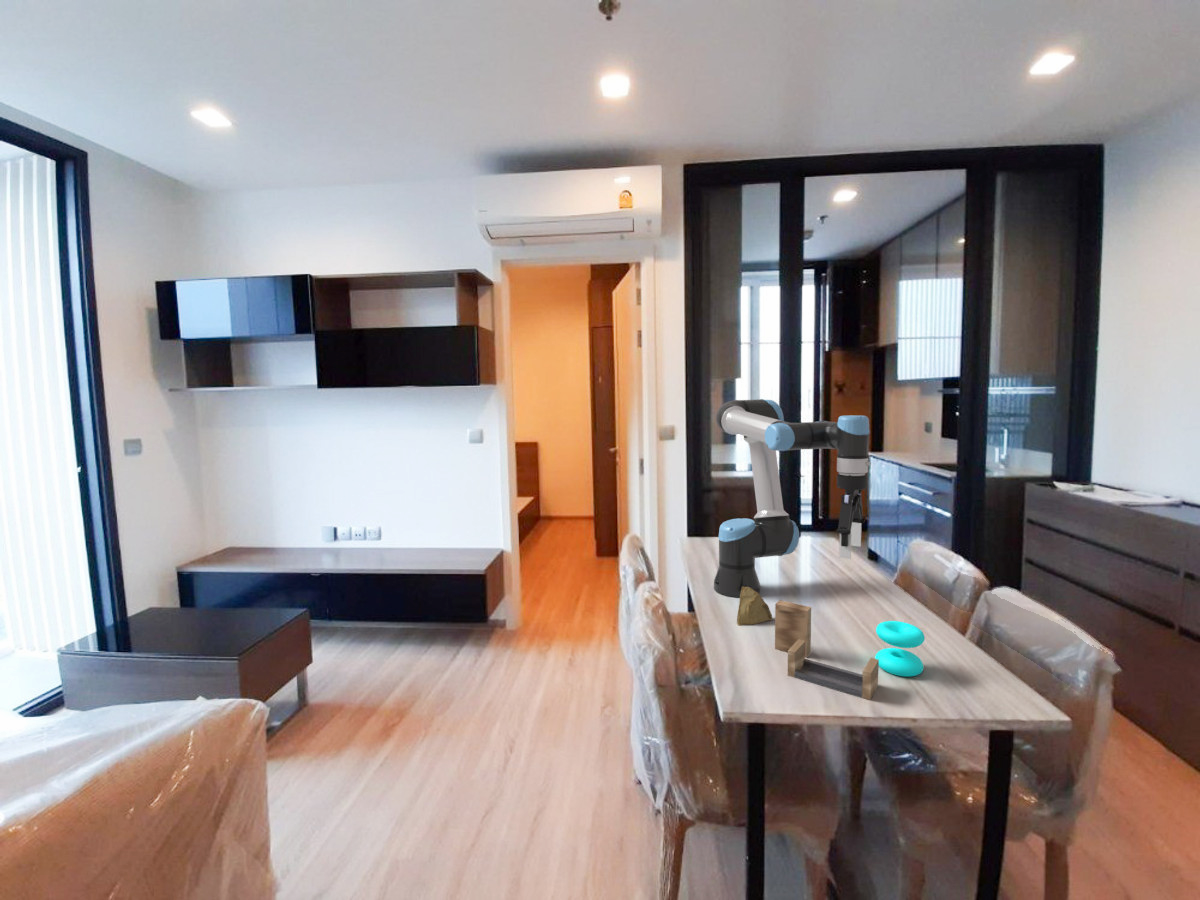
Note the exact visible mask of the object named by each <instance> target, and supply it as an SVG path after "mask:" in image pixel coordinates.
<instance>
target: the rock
mask: <svg viewBox="0 0 1200 900" xmlns="http://www.w3.org/2000/svg"><path fill="white" fill-rule="evenodd" d="M738 603H739V604H738V610H737V616H736V624H737V626H741V625H742V626H743V625H744V626H745V625H747V626H748V625H749V626H750V625H757V624H760V623H764V622H767V621H772V620H773V614H772V612H771V610H770V607H769V605H768V604H767V603H766V602H765V601H764V599H763V597H762V596H761V594H760V593H757V592H756V591H754V590H753V589H752V588H750V587H743V586H742V588H741V593H740V597H739V601H738Z"/></svg>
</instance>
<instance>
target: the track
mask: <svg viewBox="0 0 1200 900" xmlns="http://www.w3.org/2000/svg"><path fill="white" fill-rule="evenodd" d="M794 678H795V679H799V680H802V681H805V682H809V683H812V684H815V685H819V686H822V687H825V688H828V689H831V690H835V691H839V692H842V693H845V694H849V695H851V696H855V697H859V698H862V684H863V673H859V672H858V673H857V672H855V671H851V670H847V669H843V668H839V667H837V666H832V665H829V664H825V663H821V662H819V661H814V660H812V659H807V658H805V659H804V661H803V666H802V668H801V669H800V670H798V669H796V670H795V677H794ZM862 699H863V698H862Z"/></svg>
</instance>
